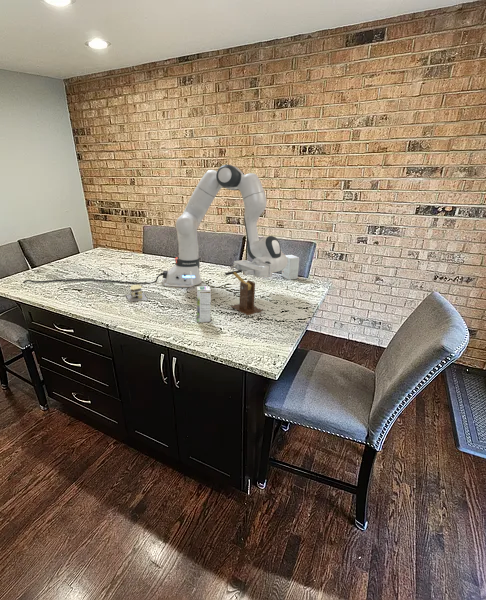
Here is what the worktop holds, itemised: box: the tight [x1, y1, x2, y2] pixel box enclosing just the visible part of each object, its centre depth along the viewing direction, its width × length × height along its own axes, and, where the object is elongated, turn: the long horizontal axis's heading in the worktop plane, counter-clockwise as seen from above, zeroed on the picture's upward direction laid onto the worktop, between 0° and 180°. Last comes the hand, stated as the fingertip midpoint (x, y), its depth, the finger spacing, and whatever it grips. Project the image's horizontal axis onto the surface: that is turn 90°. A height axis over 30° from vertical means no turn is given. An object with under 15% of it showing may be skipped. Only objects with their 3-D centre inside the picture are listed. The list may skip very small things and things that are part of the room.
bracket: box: [230, 279, 263, 316], centre depth 152 cm, size 12×9×14 cm
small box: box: [281, 254, 300, 281], centre depth 200 cm, size 8×6×13 cm
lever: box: [224, 269, 252, 290], centre depth 153 cm, size 13×9×2 cm
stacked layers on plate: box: [126, 284, 148, 303], centre depth 171 cm, size 10×9×6 cm
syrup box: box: [196, 285, 212, 323], centre depth 144 cm, size 6×6×14 cm
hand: (237, 270), depth 158 cm, fingers open, 8 cm apart
